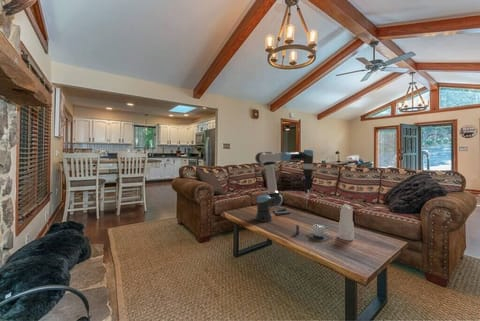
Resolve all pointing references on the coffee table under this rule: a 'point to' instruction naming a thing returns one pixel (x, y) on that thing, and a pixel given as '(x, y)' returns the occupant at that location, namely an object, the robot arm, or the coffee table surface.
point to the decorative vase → (346, 223)
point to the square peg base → (319, 237)
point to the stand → (297, 231)
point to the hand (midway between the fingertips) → (307, 197)
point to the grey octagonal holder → (319, 230)
